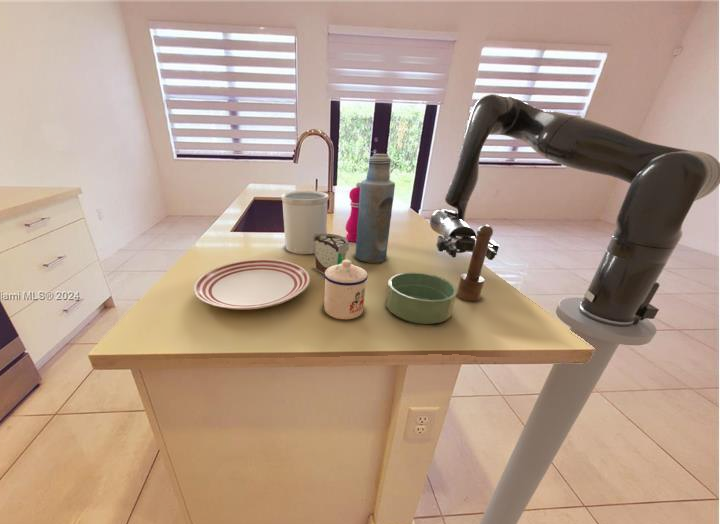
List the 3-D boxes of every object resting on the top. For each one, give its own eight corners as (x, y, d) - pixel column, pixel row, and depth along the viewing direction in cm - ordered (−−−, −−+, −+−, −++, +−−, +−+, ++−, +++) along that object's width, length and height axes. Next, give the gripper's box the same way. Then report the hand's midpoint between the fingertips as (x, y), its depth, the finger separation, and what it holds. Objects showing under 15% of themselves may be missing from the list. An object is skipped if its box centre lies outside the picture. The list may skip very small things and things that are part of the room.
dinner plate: (183, 324, 63) (180, 310, 62) (205, 271, 87) (203, 259, 86) (317, 315, 67) (317, 301, 66) (303, 266, 91) (303, 256, 90)
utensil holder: (295, 258, 97) (294, 200, 89) (276, 244, 109) (273, 192, 100) (335, 251, 104) (337, 196, 96) (313, 238, 115) (314, 189, 107)
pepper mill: (366, 238, 117) (372, 181, 108) (361, 243, 111) (366, 184, 102) (348, 235, 120) (352, 180, 111) (342, 240, 114) (345, 182, 105)
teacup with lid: (356, 324, 64) (360, 272, 59) (316, 314, 68) (317, 264, 62) (372, 300, 74) (377, 253, 69) (337, 292, 77) (339, 247, 72)
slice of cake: (356, 277, 85) (359, 242, 81) (338, 282, 82) (340, 246, 77) (329, 263, 94) (330, 230, 89) (312, 267, 91) (312, 233, 86)
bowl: (444, 297, 76) (449, 275, 73) (457, 330, 63) (464, 304, 61) (384, 292, 78) (387, 270, 75) (386, 323, 65) (389, 297, 62)
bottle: (371, 265, 93) (382, 155, 79) (348, 256, 100) (355, 153, 86) (392, 259, 98) (406, 154, 84) (369, 250, 105) (379, 152, 91)
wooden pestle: (475, 292, 79) (495, 222, 70) (481, 302, 74) (503, 229, 66) (454, 290, 79) (471, 221, 71) (458, 300, 75) (477, 227, 67)
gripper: (434, 221, 89) (445, 237, 74) (488, 224, 87) (509, 241, 73) (430, 246, 92) (439, 267, 78) (481, 249, 90) (500, 271, 76)
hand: (473, 254), depth 75 cm, fingers open, 8 cm apart
